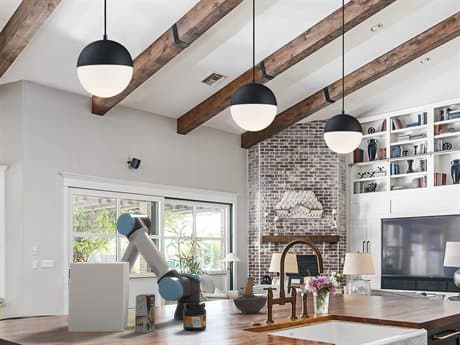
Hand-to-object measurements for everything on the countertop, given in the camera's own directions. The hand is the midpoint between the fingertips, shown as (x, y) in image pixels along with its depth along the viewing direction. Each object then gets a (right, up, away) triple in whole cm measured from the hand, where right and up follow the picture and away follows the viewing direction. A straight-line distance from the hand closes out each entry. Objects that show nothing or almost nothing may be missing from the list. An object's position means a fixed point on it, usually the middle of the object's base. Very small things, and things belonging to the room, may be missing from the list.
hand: (105, 274), depth 303 cm
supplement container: (+45, -22, -21) cm, 54 cm away
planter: (+72, -29, +48) cm, 91 cm away
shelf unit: (0, -22, -17) cm, 28 cm away
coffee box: (+23, -21, -26) cm, 40 cm away
